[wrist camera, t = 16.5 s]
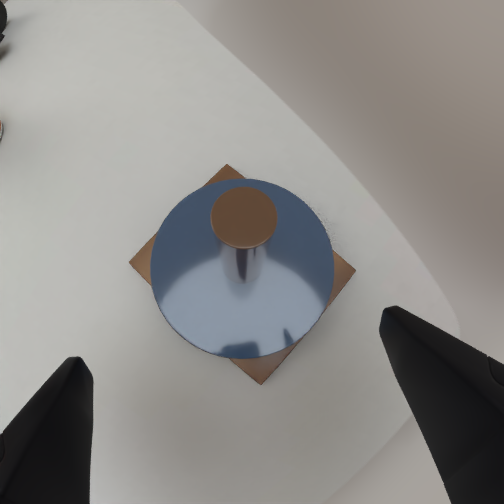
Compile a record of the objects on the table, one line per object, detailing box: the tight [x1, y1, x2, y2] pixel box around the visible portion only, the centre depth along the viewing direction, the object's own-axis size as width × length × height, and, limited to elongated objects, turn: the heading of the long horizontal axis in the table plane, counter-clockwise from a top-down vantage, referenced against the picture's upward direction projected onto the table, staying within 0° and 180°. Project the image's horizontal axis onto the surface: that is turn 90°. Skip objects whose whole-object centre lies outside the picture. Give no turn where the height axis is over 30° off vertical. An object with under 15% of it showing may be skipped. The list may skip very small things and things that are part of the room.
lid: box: [150, 179, 334, 359], centre depth 17 cm, size 12×12×9 cm
